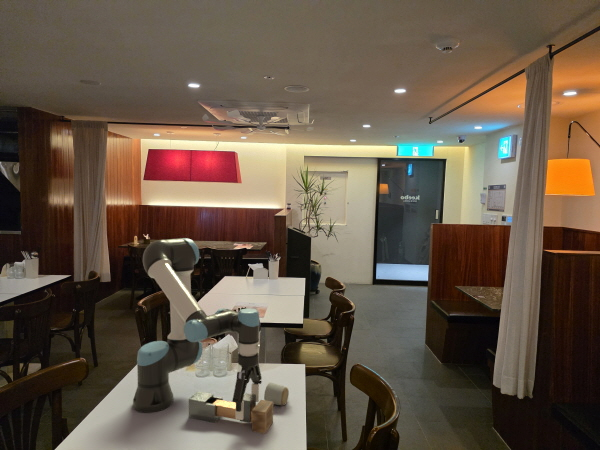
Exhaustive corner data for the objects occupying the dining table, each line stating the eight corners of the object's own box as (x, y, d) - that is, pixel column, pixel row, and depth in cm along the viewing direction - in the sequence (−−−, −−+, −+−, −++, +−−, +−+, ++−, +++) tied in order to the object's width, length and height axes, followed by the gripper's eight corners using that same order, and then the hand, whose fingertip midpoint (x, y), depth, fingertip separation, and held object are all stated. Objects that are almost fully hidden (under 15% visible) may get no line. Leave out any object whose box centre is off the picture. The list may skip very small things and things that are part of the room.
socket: (252, 431, 147) (252, 410, 146) (260, 419, 154) (261, 399, 154) (264, 433, 145) (265, 412, 145) (272, 422, 153) (273, 401, 153)
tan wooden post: (211, 415, 153) (211, 394, 152) (218, 409, 158) (218, 388, 157) (261, 425, 147) (261, 403, 147) (267, 417, 152) (267, 396, 152)
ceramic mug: (282, 409, 162) (283, 390, 162) (263, 405, 165) (263, 386, 165) (292, 397, 172) (292, 379, 172) (273, 394, 175) (274, 376, 175)
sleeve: (188, 417, 155) (188, 398, 155) (197, 409, 161) (197, 391, 161) (214, 422, 152) (214, 403, 152) (222, 414, 158) (222, 395, 158)
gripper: (243, 367, 137) (242, 429, 138) (270, 342, 161) (269, 395, 162) (222, 364, 139) (222, 425, 141) (252, 340, 163) (251, 392, 164)
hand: (247, 409), depth 151 cm, fingers open, 13 cm apart
